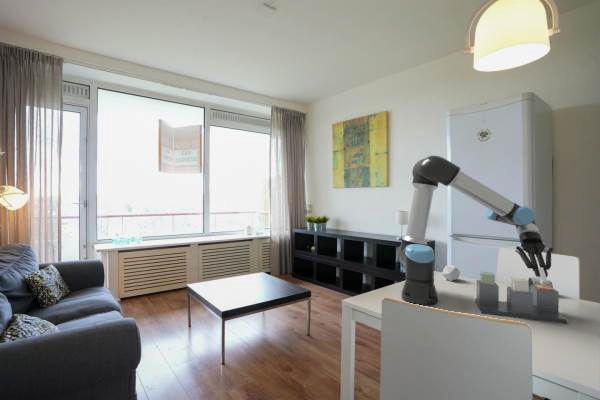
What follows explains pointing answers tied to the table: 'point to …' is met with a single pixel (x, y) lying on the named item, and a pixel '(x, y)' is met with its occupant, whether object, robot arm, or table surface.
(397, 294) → the table surface
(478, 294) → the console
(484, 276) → the sage button
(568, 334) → the table surface
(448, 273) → the crumpled paper ball
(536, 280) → the ceramic mug
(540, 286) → the terracotta button
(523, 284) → the ivory button
